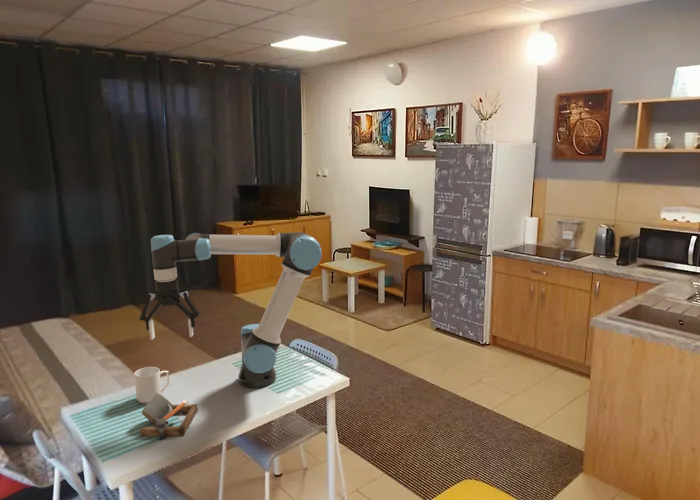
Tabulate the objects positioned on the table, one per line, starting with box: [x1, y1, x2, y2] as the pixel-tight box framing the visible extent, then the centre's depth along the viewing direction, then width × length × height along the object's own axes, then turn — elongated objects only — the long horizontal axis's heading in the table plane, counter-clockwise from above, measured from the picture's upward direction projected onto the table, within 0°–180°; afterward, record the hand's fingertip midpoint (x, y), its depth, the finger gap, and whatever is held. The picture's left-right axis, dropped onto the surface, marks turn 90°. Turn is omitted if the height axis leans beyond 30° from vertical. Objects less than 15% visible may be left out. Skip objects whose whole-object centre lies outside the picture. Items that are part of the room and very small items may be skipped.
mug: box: [133, 366, 170, 405], centre depth 185 cm, size 12×9×11 cm
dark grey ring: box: [153, 420, 169, 441], centre depth 158 cm, size 4×4×5 cm
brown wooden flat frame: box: [139, 403, 199, 437], centre depth 167 cm, size 14×16×2 cm
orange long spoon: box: [156, 399, 189, 426], centre depth 164 cm, size 3×16×1 cm, turn 165°
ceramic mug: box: [141, 393, 174, 425], centre depth 166 cm, size 11×8×8 cm
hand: (172, 337), depth 174 cm, fingers open, 13 cm apart
